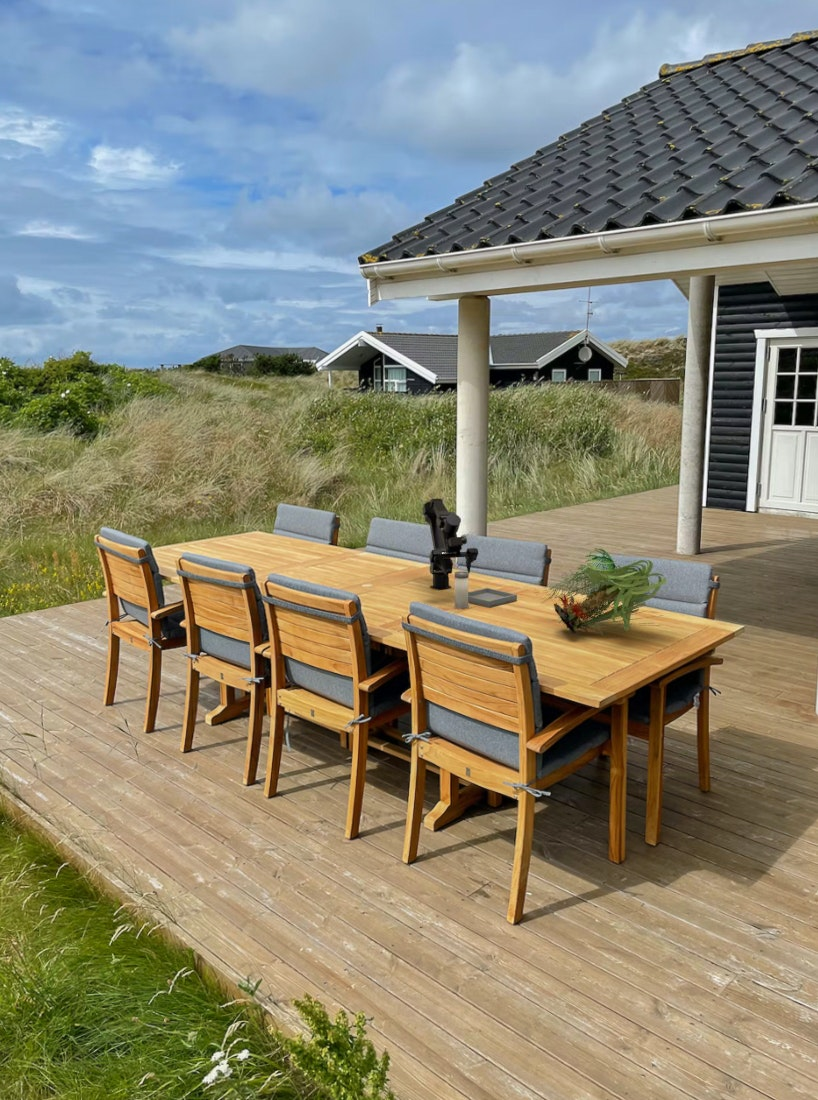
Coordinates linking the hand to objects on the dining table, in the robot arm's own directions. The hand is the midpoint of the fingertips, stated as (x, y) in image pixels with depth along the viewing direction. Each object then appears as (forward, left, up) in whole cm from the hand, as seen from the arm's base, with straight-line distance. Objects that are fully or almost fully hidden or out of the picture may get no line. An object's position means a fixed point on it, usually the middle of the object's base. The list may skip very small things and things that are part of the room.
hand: (457, 573), depth 335 cm
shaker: (+5, -3, -12) cm, 13 cm away
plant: (+58, +9, -12) cm, 60 cm away
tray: (+5, +12, -12) cm, 18 cm away
